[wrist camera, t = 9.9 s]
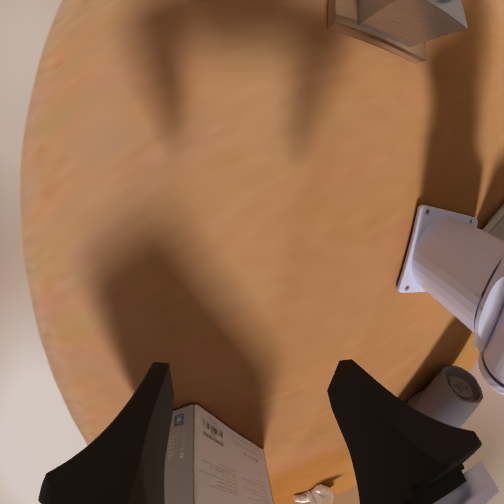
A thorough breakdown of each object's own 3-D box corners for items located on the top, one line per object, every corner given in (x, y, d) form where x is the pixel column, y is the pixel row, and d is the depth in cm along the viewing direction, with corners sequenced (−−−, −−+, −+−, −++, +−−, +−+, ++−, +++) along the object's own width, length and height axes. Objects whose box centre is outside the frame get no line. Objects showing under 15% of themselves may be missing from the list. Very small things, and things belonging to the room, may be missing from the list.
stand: (407, -10, 11) (416, -15, 10) (415, 63, 15) (426, 60, 13) (327, -43, 10) (333, -51, 9) (327, 29, 13) (335, 21, 12)
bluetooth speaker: (386, 444, 37) (404, 481, 27) (348, 452, 35) (365, 496, 26) (459, 357, 29) (494, 398, 20) (425, 361, 27) (465, 413, 18)
